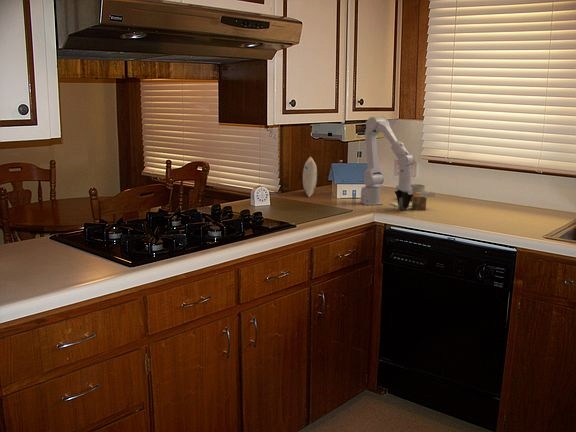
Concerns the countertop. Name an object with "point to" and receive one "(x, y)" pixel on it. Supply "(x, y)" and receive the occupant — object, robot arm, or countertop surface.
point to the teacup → (417, 188)
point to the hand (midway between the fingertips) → (403, 206)
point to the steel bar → (424, 194)
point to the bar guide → (419, 203)
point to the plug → (401, 204)
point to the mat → (398, 205)
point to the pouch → (309, 176)
